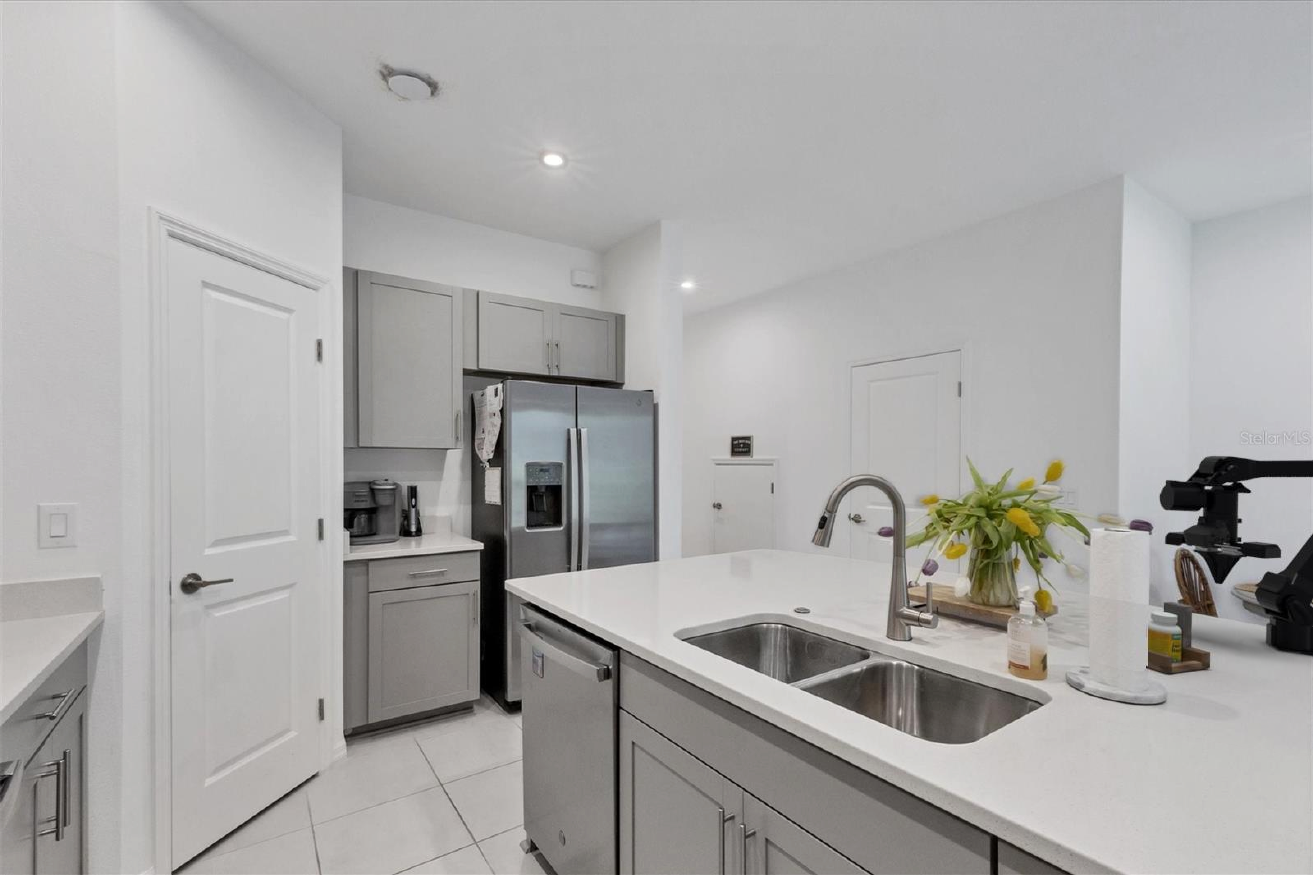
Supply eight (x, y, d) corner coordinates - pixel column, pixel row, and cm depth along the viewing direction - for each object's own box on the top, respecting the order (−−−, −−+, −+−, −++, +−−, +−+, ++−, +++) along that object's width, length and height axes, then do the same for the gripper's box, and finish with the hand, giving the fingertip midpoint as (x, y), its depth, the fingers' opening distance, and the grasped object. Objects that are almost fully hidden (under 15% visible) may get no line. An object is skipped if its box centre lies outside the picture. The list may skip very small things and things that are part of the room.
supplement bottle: (1151, 655, 125) (1152, 608, 125) (1185, 664, 120) (1186, 615, 120) (1141, 660, 122) (1142, 612, 122) (1175, 669, 117) (1176, 619, 117)
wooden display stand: (1153, 650, 127) (1154, 597, 127) (1210, 668, 118) (1211, 610, 118) (1112, 655, 124) (1113, 601, 124) (1167, 673, 114) (1168, 614, 114)
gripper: (1149, 508, 141) (1147, 576, 141) (1248, 518, 123) (1247, 596, 123) (1182, 508, 145) (1180, 574, 145) (1283, 518, 127) (1282, 593, 127)
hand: (1218, 583), depth 135 cm, fingers closed
